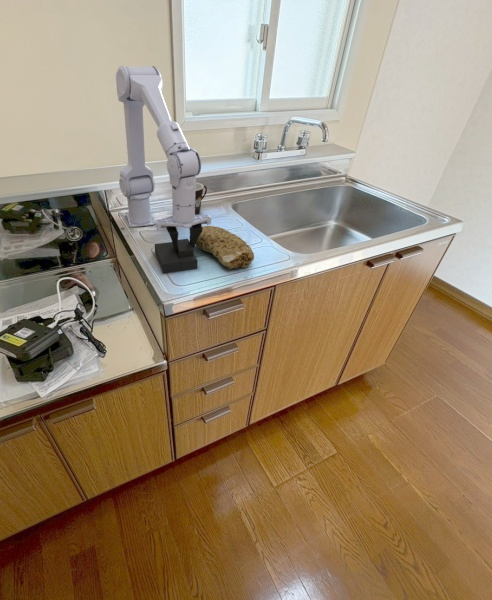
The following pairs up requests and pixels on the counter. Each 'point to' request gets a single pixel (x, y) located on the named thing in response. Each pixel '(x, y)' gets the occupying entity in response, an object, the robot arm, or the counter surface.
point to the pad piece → (185, 248)
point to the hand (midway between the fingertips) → (183, 249)
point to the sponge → (225, 247)
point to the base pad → (173, 259)
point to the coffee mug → (199, 197)
